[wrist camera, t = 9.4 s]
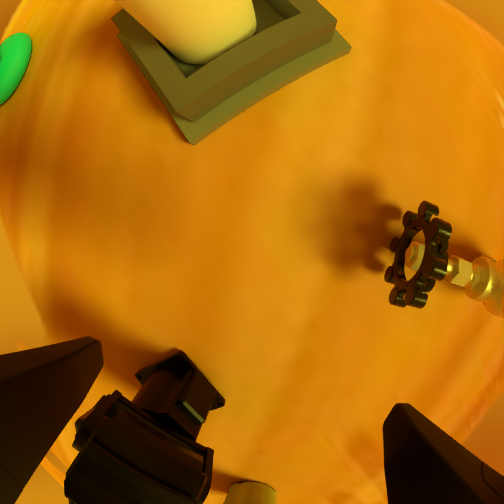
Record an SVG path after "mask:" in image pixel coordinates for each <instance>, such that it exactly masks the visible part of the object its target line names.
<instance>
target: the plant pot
mask: <svg viewBox="0 0 504 504" xmlns="http://www.w3.org/2000/svg"><path fill="white" fill-rule="evenodd" d="M223 504H277V500H276V491H275V490H273V489H272V488H271V487H270V486H269V485H266V484H263V483H258V482H244V483H240V484H239V483H235V484H233V485H232V486H231V487H230V489H229V492H228V494H227V496H226V498H225V501H224V503H223Z"/></svg>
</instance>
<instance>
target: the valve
mask: <svg viewBox="0 0 504 504" xmlns="http://www.w3.org/2000/svg"><path fill="white" fill-rule="evenodd" d="M432 214H434V215H436V216H438V215H439V208H438V206H436V205H434V204H432V203H430V202H427V201H422V202H421V204H420V205H419V208H418V214H417V213H414V212H412V211H406V212H405V214H404V216H403V221H402V223H403V226H404V227H405V228H404V232H403V234H402V236H401V238H400V237H397V236H395V237H394V238H393V239H392V241H391V244H390V251H391V252H393V253H395V258H394V262H393V265H392V266H389V267H388V268H387V269H386V272H385V276H384V279H385V282H387V283H391V284H394V285H395V286H394V288H393V289H392V290H391V292H390V295H389V303H390V304H391V305H395V306H399V307H405V306H406V305H408V306H412V307H416V308H420V309H421V308H423V307H424V306H425V304H426V302H427V299H428V294H426V293H428V292H430V291H431V290H432V289H433V287H434V285H435V282H436V280H437V281H441V280H443V279H444V278H445V279H446V280H447V281H449V282H450V283H453V284H456V285H459V286H462V287H464V290H465V293H466V295H467V296H468V297H469V298H470V299H473V300H476V301H480V302H483V304H484V306H485V307H486V309H487V310H488V311H489V312H491V313H492V314H494V315H496V316H499V317H503V318H504V260H501V261H496V260H493V259H491V258H489V257H487V256H485V255H481V256H480V257H478V258H476V259H474V260H473V261H472V262H471V263H470V262H468V261H466V260H464V259H462V258H459V257H457V256H454V255H452V256H451V257H450V258H449V259H448V253H447V249H448V245H449V243H448V239H449V238H450V236H451V232H452V227H451V224H450V223H448V222H446V221H444V220H442V219H439V218H437V217H435V218H433V219H432V220H431V216H432ZM430 220H431V222H430ZM421 230H423V232H424V236H425V243H423V244H421V243H418V242H416V241H413V242H412V243H411V241H412V239H413V238H414V236H415V235H416V234H417V233H418V232H419V231H421ZM438 241H440V242H439V244H438ZM410 243H411V244H410ZM409 245H410V246H409ZM404 264H406V266H407V267H409V268H410V269H412V270H415V271H416V274H415V275H414V276H413V278H411V279H410V280H409V281H407V280H406V277H405V272H404ZM404 295H405V298H404Z"/></svg>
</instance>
